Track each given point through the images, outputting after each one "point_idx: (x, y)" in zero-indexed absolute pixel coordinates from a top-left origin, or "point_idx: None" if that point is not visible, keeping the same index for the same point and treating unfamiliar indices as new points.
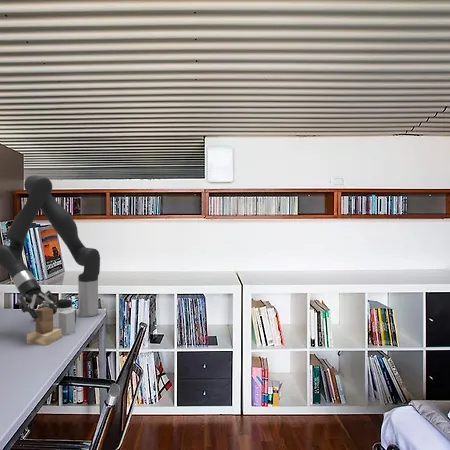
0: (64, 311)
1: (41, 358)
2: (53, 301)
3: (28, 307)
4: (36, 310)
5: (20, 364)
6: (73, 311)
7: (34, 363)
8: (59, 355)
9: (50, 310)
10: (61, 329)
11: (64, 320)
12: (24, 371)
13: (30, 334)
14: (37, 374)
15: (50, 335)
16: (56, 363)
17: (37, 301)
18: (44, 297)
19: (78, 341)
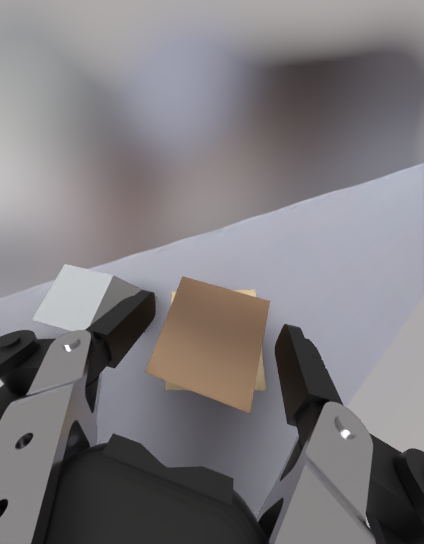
0: (64, 314)
1: (332, 245)
2: (31, 355)
3: (383, 478)
4: (252, 394)
5: (387, 266)
6: (68, 268)
7: (363, 240)
8: (297, 221)
9: (204, 284)
10: (172, 292)
11: (128, 296)
12: (406, 230)
13: (262, 368)
14: (398, 199)
15: (235, 290)
16: (336, 200)
17: (202, 500)
18: (20, 483)
19: (200, 235)
